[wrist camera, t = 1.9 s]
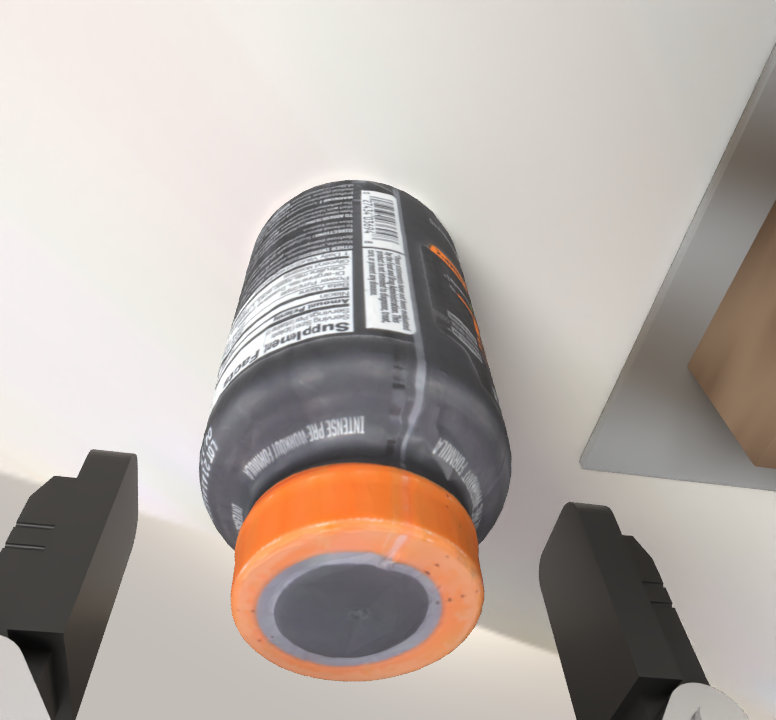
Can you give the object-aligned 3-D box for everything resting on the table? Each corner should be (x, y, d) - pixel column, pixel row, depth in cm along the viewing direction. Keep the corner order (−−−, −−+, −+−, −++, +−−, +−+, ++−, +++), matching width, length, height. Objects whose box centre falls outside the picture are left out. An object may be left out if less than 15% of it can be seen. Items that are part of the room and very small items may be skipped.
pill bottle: (457, 353, 22) (534, 711, 12) (267, 365, 22) (203, 733, 12) (459, 166, 18) (568, 469, 9) (233, 180, 18) (110, 499, 9)
